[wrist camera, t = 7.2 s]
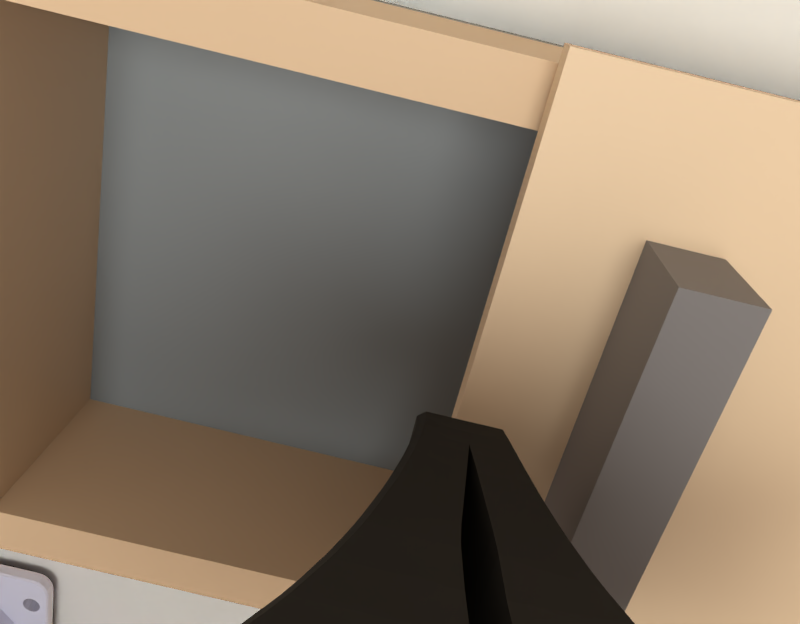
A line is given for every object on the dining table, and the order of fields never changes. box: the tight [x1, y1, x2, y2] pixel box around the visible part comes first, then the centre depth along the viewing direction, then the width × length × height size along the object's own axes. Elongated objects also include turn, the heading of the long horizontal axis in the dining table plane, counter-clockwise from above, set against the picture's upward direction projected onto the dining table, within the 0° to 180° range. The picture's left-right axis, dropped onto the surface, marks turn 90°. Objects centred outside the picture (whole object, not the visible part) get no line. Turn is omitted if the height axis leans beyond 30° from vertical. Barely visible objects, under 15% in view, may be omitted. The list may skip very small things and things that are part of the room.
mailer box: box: [0, 0, 564, 609], centre depth 15 cm, size 12×16×5 cm
